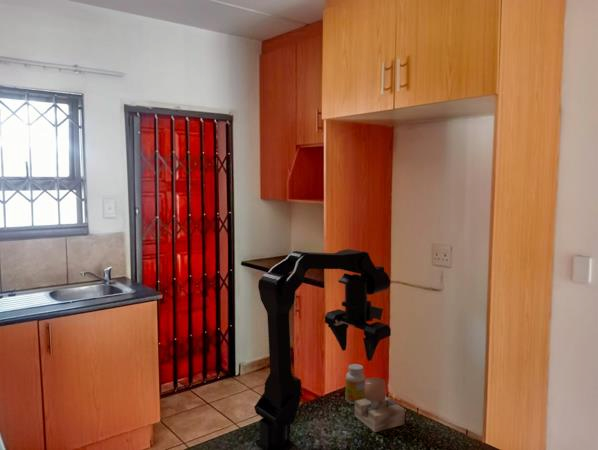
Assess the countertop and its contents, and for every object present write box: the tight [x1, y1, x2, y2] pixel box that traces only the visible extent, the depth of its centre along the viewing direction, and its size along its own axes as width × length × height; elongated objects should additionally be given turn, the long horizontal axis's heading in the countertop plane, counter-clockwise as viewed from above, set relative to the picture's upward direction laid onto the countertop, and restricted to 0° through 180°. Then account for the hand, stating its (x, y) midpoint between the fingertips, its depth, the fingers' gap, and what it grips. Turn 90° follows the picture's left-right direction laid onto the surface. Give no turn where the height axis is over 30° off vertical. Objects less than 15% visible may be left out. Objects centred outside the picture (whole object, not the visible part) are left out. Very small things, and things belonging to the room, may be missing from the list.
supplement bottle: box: [344, 363, 366, 405], centre depth 130 cm, size 5×5×10 cm
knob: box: [365, 376, 387, 415], centre depth 118 cm, size 5×5×9 cm
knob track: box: [354, 395, 406, 433], centre depth 119 cm, size 9×9×4 cm
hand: (356, 355), depth 123 cm, fingers open, 9 cm apart
